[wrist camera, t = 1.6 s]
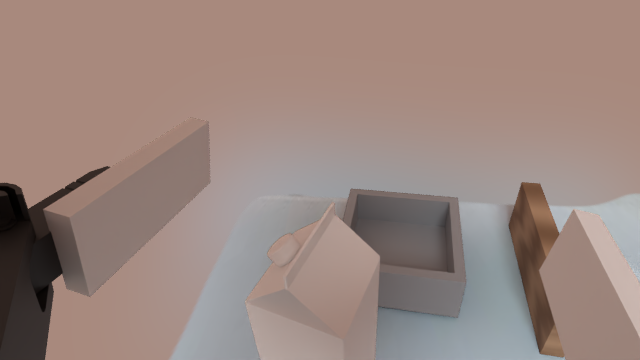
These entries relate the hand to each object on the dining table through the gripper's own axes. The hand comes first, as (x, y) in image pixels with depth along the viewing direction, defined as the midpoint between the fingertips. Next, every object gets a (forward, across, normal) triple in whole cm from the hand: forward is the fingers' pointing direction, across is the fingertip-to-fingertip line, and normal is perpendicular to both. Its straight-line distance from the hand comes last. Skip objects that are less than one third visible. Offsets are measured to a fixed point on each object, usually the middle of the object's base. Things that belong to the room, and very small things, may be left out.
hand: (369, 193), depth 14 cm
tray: (+25, +4, -24) cm, 35 cm away
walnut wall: (+26, +18, -22) cm, 38 cm away
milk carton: (+9, 0, -27) cm, 28 cm away
